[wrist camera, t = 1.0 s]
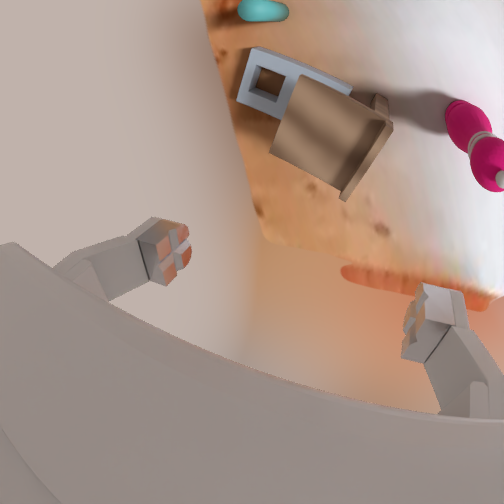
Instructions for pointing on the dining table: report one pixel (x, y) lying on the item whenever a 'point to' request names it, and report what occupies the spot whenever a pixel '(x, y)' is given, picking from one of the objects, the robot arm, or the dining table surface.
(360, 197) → the dining table surface
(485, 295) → the dining table surface
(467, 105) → the pepper mill
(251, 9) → the peg
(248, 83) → the socket
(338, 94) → the toy chair
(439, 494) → the robot arm
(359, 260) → the dining table surface
